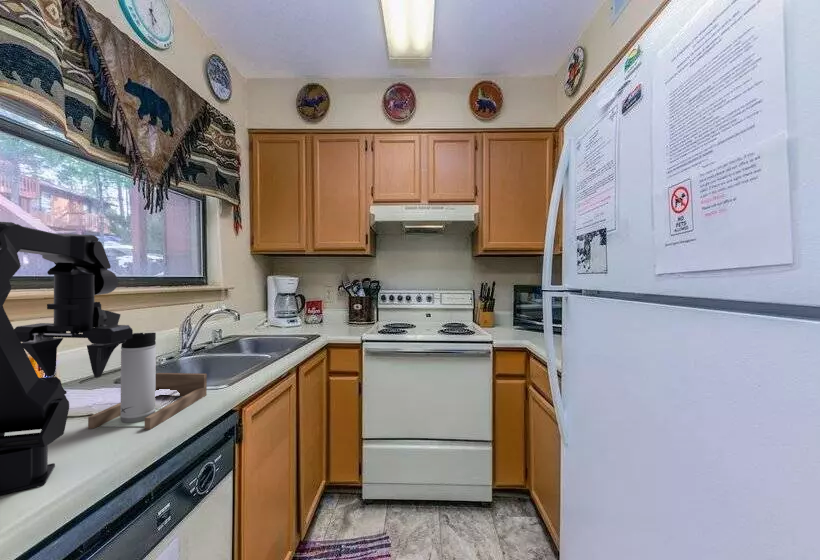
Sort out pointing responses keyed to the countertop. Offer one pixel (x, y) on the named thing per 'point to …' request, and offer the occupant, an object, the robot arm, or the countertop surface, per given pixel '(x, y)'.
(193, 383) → the shelf lane
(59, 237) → the robot arm
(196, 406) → the countertop surface
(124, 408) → the travel mug
